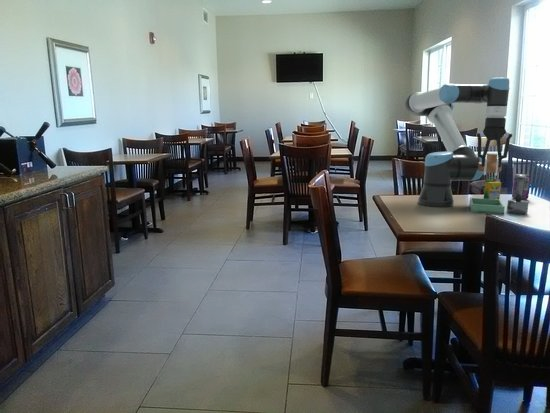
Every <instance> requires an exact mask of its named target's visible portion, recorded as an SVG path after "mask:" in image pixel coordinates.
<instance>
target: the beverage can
mask: <svg viewBox="0 0 550 413" xmlns="http://www.w3.org/2000/svg"><path fill="white" fill-rule="evenodd" d="M514 175H515V176H514V177H513V183H512V184H513V185H512V190H511V191H512V192H511V198H513V200H515V198H516V189H517V180H518V177H516V175H526V177H525V178H524V181H523V190H522V199H521V200H524V199H526V200H528V199H529V196H530V195H529V194H530V186H531V185H530V184H531V177H530V174H527V173H515V174H514ZM524 201H525V200H524Z"/></svg>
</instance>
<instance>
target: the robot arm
mask: <svg viewBox="0 0 550 413" xmlns="http://www.w3.org/2000/svg"><path fill="white" fill-rule="evenodd" d="M509 93H510V78H508V77H491V78H490V79H489V80H488V84H473V83H472V84H470V83H469V84H467V83H466V84H465V83H464V84H463V83H462V84H461V83H460V84H459V83H445V84H443V85H442V86H441V87H439V88H435V89H433V90H428V91H424V92H422V91H416V92H411V93H410V94H408V95H407V96H406V99H405V101H404V108H405V109H406V111H407V113H409V114H410V115H413V116H417V117H427V120H428V121H429V123H430V124H433V125H434V127H435V129H436V130H437V131H436V132H437V133H438V135H439V137H440V139H441V141H442V143H443V145H444V147H445V149H446V151H436V152H431V153H428V154H427V155H425V160H424V173H423V185H422V189H421V191H420V194H419V196H418V201H417V203H418V205H422V206H426V207H433V208H434V207H436V208H446V207H453V206H454V201H455V200H454V197H453V196H454V195H453V192H452V182H453V181H455V182H456V181H458V182H459V181H460V182H461V181H464V182H465V181H469V182H470V181H477V180H479V179H480V178H482V176H486V174H487V172H486V168H487V153H488V151H489V147H490V143H491V142H492V141H496V142H495V143H496V149H497V151H496V152H497V164H496V173H494V176H498V172H497V171H498V167H501V164H502V160H503V159H506V158H507V157H508V152H509V148H510V142H511V139H512V137H513V134H512V133H509V132H507V130H506V122H507V118H505V117H506V116H507V114H508V113H507V112H508V111H507V110H508V101H509ZM455 103H458V104H461V103H465V104H466V103H467V104H469V103H471V104H486V108H485V109H486V111H485V116H486V118H485V119H484V120H485V121H484V128H483V130H482V131H481V132H477V133H476V138H477V153H475V151H474V149H473V148H472V147H470V146H468V145H467V144H466V142H465V139H464V138H463V136H462V134H461V133H460V131H459V129H458V126H457V124H456V123H455V122H456V121H454V119H453V117H452V112H453V110H454V104H455ZM483 135H484V136H485V137H486V141H485V142H486V143H485V146H484V149H483V152H482V138H483V137H484V136H483ZM503 137H505V143H504V149H503V155H502V145H501V144H502V142H501V139H502V138H503ZM479 162H482V164H481V165H482V167H484V171H479V170H478V163H479Z"/></svg>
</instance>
